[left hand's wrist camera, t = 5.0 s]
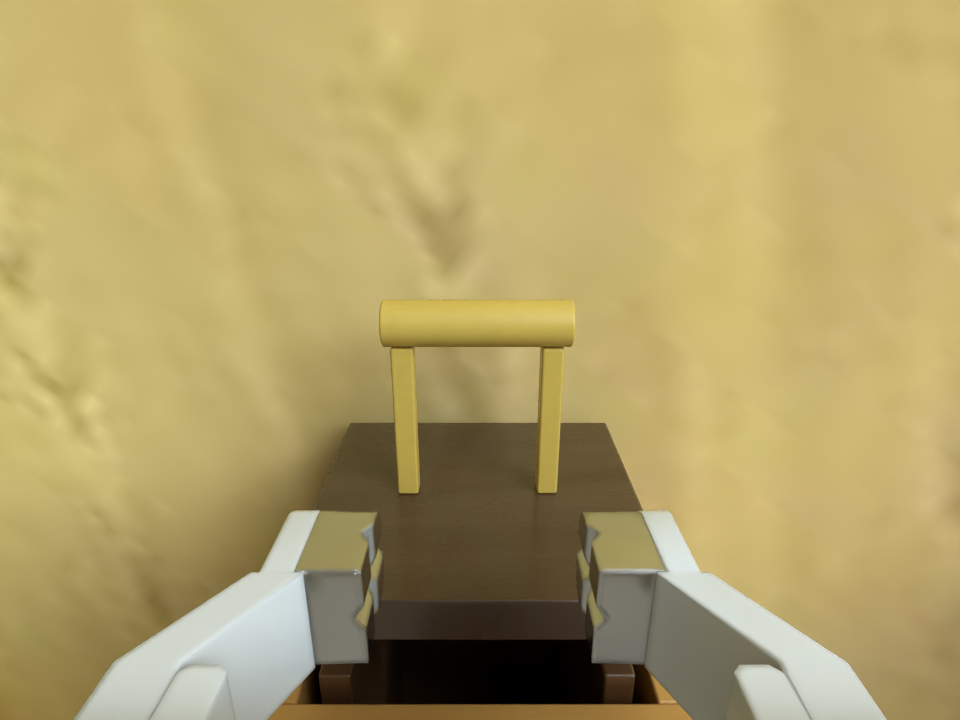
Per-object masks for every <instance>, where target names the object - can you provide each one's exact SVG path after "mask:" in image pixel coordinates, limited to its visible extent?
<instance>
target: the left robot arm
mask: <svg viewBox="0 0 960 720" xmlns="http://www.w3.org/2000/svg"><path fill="white" fill-rule="evenodd" d="M381 533H382V529H381V519H380V515H379V512H371V511H324V510H323V511H320V510H294V511H292V512H291V513H289V515H288V516H287V518H286V520H285V522H284V524H283V526H282V528H281V530H280V532H279V534H278V536H277V538H276V540H275V542H274V544H273V546H272V548H271V550H270V552H269V554H268V556H267V558H266V560H265V562H264V564H263V566H262V568H261V570H260V572H250V573H249V574H247V575H246V576H244V577H243V578H241V579H240V580H238V581H237V582H235V583H233V584H232V585H230V586H229V587H227V588H226V589H224V590H223V591H221V592H220V593H218V594H217V595H215V596H214V597H212V598H211V599H209V600H207V601H206V602H204V603H203V604H201V605H200V606H198V607H197V608H195V609H194V610H192V611H191V612H189V613H188V614H186V615H184V616H183V617H181V618H180V619H178V620H177V621H175V622H174V623H172V624H171V625H169V626H168V627H166V628H165V629H163V630H162V631H160V632H158V633H157V634H155V635H154V636H152V637H151V638H149V639H148V640H146V641H145V642H143V643H142V644H140V645H139V646H137V647H135V648H134V649H132V650H131V651H129V652H128V653H126V654H125V655H123V656H122V657H120V658H119V659H117V660H116V661H114V662H113V663H112V665H111V666H110V668H109V669H108V670H107V672H106V673H105V675H104V676H103V678H102V679H101V680H100V682H99V683H98V685H97V686H96V688H95V689H94V691H93V692H92V693H91V695H90V696H89V698H88V699H87V701H86V702H85V703H84V705H83V706H82V708H81V709H80V711H79V712H78V714H77V715H76V716H75V718H74V719H73V720H268V719H269V717H270V716H271V715H272V714H273V713H274V712H275V711H276V710H277V709H278V708H279V707H280V705H281V704H282V703H283V702H284V701H285V700H286V699H287V698H288V697H289V696H290V695H291V694H292V692H293V691H294V690H295V689H296V688H297V687H298V686H299V685H300V684H301V683H302V682H303V680H304V679H305V678H306V677H307V676H308V675H309V674H310V673H311V672H312V671H313V670H314V668H315V665H316V664H350V663H368V662H369V657H370V653H371V648H372V643H373V639H374V634H375V618H374V614H375V613H376V612H377V611H378V610H380V605H381V600H382V594H383V584H384V557H383V552H382V551H381V550H380V549H379V548H378V546H379V542H380V538H381ZM578 533H579V537H580V542H581V546H582V548H581V549H580V550H579V551H578V553H577V559H576V586H577V593H578V600H579V605H580V609H581V610H582V611H583V612H584V613H585V614H586V618H585V634H586V638H587V643H588V648H589V652H590V657H591V661H592V663H609V664H644V665H645V668H646V669H647V670H648V671H649V672H650V673H651V675H652V676H653V677H654V678H655V679H656V680H657V681H658V682H659V683H660V684H661V685H662V687H663V688H664V689H665V690H666V691H667V692H668V693H669V694H670V695H671V696H672V697H673V699H674V700H675V701H676V702H677V703H678V704H679V705H680V706H681V707H682V708H683V709H684V711H685V712H686V713H687V714H688V715H689V716H690V717H691V718H692V719H693V720H887V719H886V718H885V716H884V715H883V713H882V712H881V710H880V709H879V708H878V706H877V705H876V703H875V702H874V700H873V699H872V697H871V696H870V694H869V693H868V692H867V690H866V689H865V687H864V686H863V684H862V683H861V681H860V680H859V679H858V677H857V676H856V674H855V673H854V671H853V670H852V668H851V667H850V665H849V664H848V663H847V662H846V661H844V660H843V659H841V658H839V657H838V656H836V655H835V654H833V653H832V652H830V651H829V650H827V649H826V648H824V647H823V646H821V645H820V644H818V643H817V642H815V641H814V640H812V639H810V638H809V637H807V636H806V635H804V634H803V633H801V632H800V631H798V630H797V629H795V628H794V627H792V626H791V625H789V624H788V623H786V622H785V621H783V620H781V619H780V618H778V617H777V616H775V615H774V614H772V613H771V612H769V611H768V610H766V609H765V608H763V607H762V606H760V605H759V604H757V603H756V602H754V601H752V600H751V599H749V598H748V597H746V596H745V595H743V594H742V593H740V592H739V591H737V590H736V589H734V588H733V587H731V586H730V585H728V584H727V583H725V582H723V581H722V580H720V579H719V578H717V577H716V576H714V575H713V574H711V573H710V572H700V570H699V568H698V566H697V564H696V562H695V560H694V558H693V556H692V554H691V552H690V550H689V548H688V546H687V544H686V542H685V540H684V538H683V536H682V534H681V532H680V530H679V528H678V526H677V525H676V523H675V521H674V519H673V517H672V515H671V513H670V512H668V511H667V510H651V511H638V512H581V514H580V519H579V530H578Z"/></svg>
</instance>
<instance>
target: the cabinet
mask: <svg viewBox="0 0 960 720" xmlns="http://www.w3.org/2000/svg"><path fill="white" fill-rule="evenodd" d="M632 665H633V669H634V672H635V683H634V691H633V699H632V704H322V698H321V691H320V683H319V673H320V669H321V666H322V664H316V665H315V668H314V670H313V671H312V672H311V673H310V674H309V675H308V676H307V677H306V678H305V679H304V680H303V682H302V683H301V684H300V685H299V686H298V687H297V688H296V689H295V690H294V691H293V692H292V694H291V695H290V696H289V697H288V698H287V699H286V700H285V701H284V702H283V703H282V704H281V705H280V707H279V708H278V709H277V710H276V711H275V712H274V713H273V714H272V715H271V716H270V717H269V719H268V720H693V719H692V718H691V717H690V716H689V715H688V714H687V713H686V712H685V711H684V709H683V708H682V707H681V706H680V705H679V704H678V703H677V702H676V701H675V700H674V699H673V697H672V696H671V695H670V694H669V693H668V692H667V691H666V690H665V689H664V688H663V687H662V685H661V684H660V683H659V682H658V681H657V680H656V679H655V678H654V677H653V676H652V675H651V673H650V672H649V671H648V670H647V669H646V668H645V665H644V664H632Z"/></svg>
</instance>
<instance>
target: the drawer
mask: <svg viewBox="0 0 960 720" xmlns="http://www.w3.org/2000/svg"><path fill="white" fill-rule="evenodd" d="M575 328H576V317H575V307H574V303H573V301H572V300H383V301H382V302H381V305H380V312H379V332H380V340H381V343H382V346H384V347H391V350H390V354H391V372H392V389H393V407H394V423H351V424H350V426H349V428H348V430H347V432H346V435H345V437H344V439H343V441H342V444H341V446H340V448H339V451H338V453H337V455H336V457H335V460H334V462H333V464H332V466H331V469H330V471H329V473H328V476H327V478H326V480H325V482H324V485H323V487H322V489H321V491H320V494H319V496H318V498H317V501H316V503H315V505H314V507H313V510H320V511H323V510H324V511H371V512H379V515H380V519H381V529H382V533H381V538H380V542H379V546H378V548H379V549H380V550H381V551H382V552H383V557H384V584H383V594H382V600H381V605H380V610H378V611H377V612H376V613H375V614H374V618H375V634H374V639H373V643H372V648H371V653H370V657H369V662H368V663H350V664H322V666H321V669H320V673H319V683H320V691H321V698H322V704H632V699H633V691H634V683H635V672H634V669H633V665H632V664H609V663H592V661H591V657H590V652H589V648H588V643H587V638H586V634H585V618H586V614H585V613H584V612H583V611H582V610H581V609H580V605H579V600H578V593H577V586H576V559H577V553H578V551H579V550H580V549H581V548H582V546H581V542H580V537H579V533H578V530H579V519H580V514H581V512H638V511H643V509H642V507H641V505H640V503H639V500H638V498H637V496H636V493H635V491H634V489H633V486H632V484H631V482H630V479H629V477H628V475H627V472H626V470H625V468H624V465H623V463H622V461H621V458H620V456H619V454H618V451H617V449H616V447H615V444H614V442H613V440H612V437H611V435H610V433H609V431H608V428H607V426H606V424H605V423H561V406H562V388H563V369H564V348H563V347H571V346H572V345H573V343H574V338H575ZM414 347H541V350H540V375H539V401H538V423H418V420H417V396H416V372H415V348H414Z"/></svg>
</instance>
